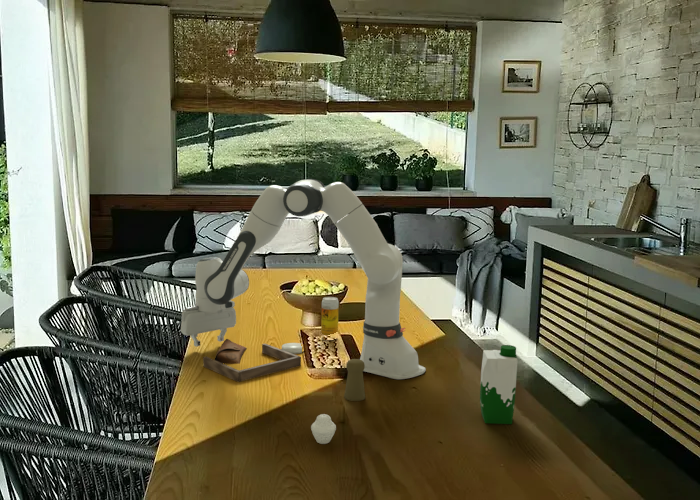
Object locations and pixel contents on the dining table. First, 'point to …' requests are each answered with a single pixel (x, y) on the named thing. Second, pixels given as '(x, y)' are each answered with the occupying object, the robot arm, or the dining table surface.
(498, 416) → the milk carton
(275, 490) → the dining table surface
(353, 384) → the pepper mill
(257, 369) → the open wooden frame
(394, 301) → the robot arm
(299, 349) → the ring dish
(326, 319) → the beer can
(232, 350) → the sunglasses case
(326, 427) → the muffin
